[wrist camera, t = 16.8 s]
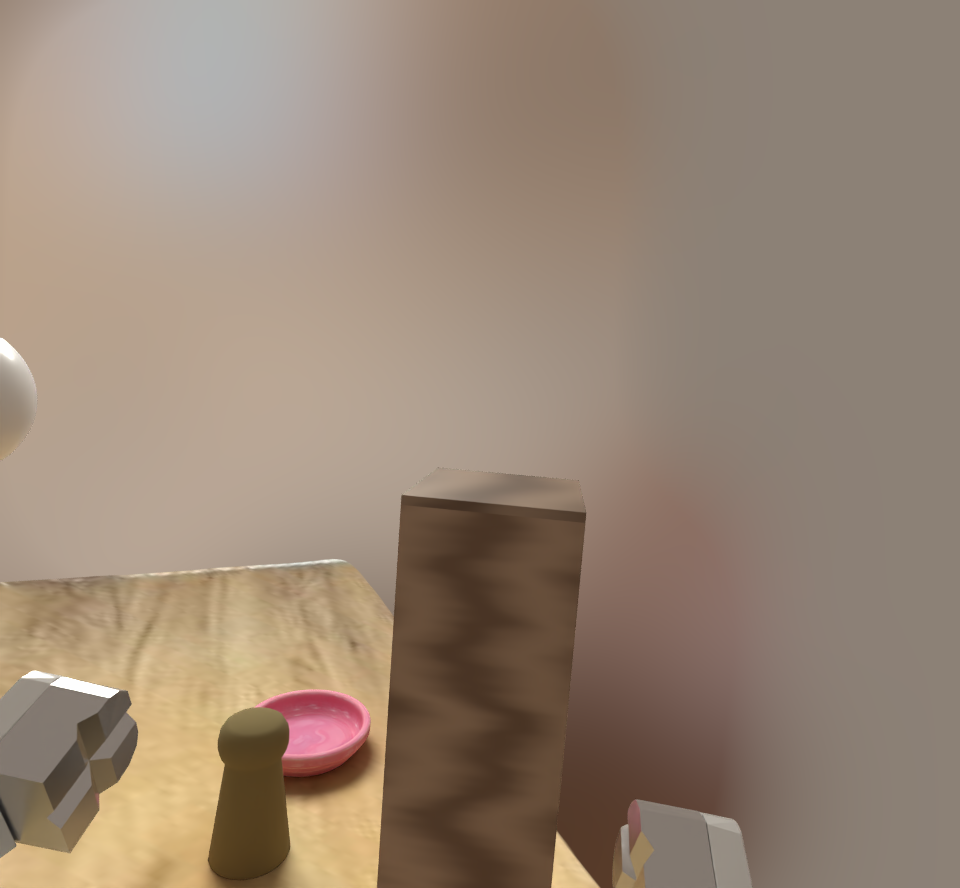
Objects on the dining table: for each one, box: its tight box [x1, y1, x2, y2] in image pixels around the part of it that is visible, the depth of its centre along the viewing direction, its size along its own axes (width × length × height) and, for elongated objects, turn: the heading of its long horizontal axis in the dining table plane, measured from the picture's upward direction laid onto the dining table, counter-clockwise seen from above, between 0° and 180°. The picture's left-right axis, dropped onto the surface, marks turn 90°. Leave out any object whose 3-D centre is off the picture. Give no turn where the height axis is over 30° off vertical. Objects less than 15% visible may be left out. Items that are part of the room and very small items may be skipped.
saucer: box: [254, 690, 371, 777], centre depth 64 cm, size 12×12×3 cm
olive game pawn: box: [208, 707, 290, 880], centre depth 50 cm, size 6×6×11 cm
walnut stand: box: [377, 468, 586, 888], centre depth 38 cm, size 9×10×32 cm
